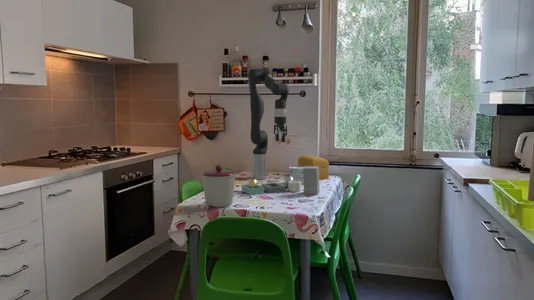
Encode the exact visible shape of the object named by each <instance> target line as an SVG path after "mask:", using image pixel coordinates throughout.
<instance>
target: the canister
mask: <svg viewBox="0 0 534 300" xmlns="http://www.w3.org/2000/svg"><path fill="white" fill-rule="evenodd" d="M200 176H201V177H202V185H203V193H204V194H203V195H204V200H205V203H206V205H207V206H208V205H209V206H208V207H210V206H213V207H212V208H225V207H229V206H231V204H232V202H233V198H234V192H235V191H234V190H235V181H236V176H237V173H236V172H234V171H233V170H231V169H230V170H229V169H223V166H222V165H221V164H216V165H215V167H214V169H208V170H205V171H203V172H202V173H201V174H200Z"/></svg>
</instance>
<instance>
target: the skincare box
mask: <svg viewBox="0 0 534 300" xmlns="http://www.w3.org/2000/svg"><path fill="white" fill-rule="evenodd" d="M303 178H304V184H303V194H304V195H318V194H319V193H320V180H319V167H312V166H306V167H304V168H303Z"/></svg>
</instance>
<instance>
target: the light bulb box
mask: <svg viewBox="0 0 534 300" xmlns="http://www.w3.org/2000/svg"><path fill="white" fill-rule="evenodd" d="M303 168H304V167H298V166H289V168H288V176H290V177H293V181H300V182H301V185H304V178H303Z"/></svg>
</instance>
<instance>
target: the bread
mask: <svg viewBox="0 0 534 300" xmlns="http://www.w3.org/2000/svg"><path fill="white" fill-rule="evenodd" d="M297 163H298V165H297V167H306V166H312V167H319V181H324V179H327V180H329V172H330V171H329V167H330V162H329V161H328V159H325V158H323V157H319V156H316V155H311V154H305V155H301V156H299V157H298V159H297Z"/></svg>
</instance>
